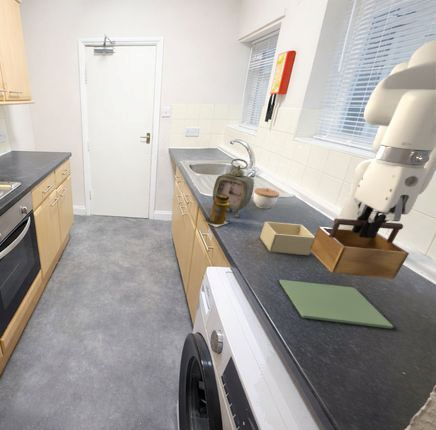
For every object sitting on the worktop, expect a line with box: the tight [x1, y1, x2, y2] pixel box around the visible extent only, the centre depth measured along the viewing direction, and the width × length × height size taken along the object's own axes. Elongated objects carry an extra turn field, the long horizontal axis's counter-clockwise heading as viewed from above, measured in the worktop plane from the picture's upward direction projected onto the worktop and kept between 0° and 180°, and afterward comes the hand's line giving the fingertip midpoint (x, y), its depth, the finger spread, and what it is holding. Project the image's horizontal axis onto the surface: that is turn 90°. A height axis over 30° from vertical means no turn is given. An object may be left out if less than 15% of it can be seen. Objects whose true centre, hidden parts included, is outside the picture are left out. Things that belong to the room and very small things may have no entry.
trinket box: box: [252, 187, 280, 210], centre depth 129 cm, size 11×11×9 cm
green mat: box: [278, 279, 394, 329], centre depth 70 cm, size 20×14×1 cm
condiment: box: [202, 194, 229, 228], centre depth 111 cm, size 7×8×12 cm
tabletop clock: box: [212, 158, 255, 218], centre depth 118 cm, size 14×9×25 cm, turn 44°
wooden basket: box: [310, 217, 410, 280], centre depth 63 cm, size 13×10×12 cm
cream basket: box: [259, 221, 315, 256], centre depth 95 cm, size 13×10×7 cm
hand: (362, 234), depth 62 cm, fingers closed on wooden basket, 1 cm apart
